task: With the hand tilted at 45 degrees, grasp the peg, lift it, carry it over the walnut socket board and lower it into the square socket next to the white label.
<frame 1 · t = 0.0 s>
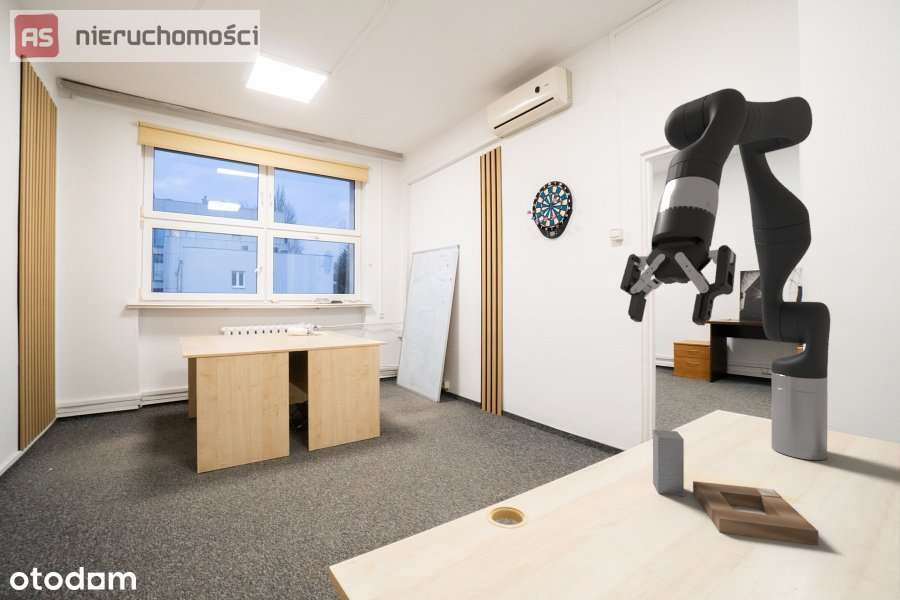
hand: (664, 322, 55), 31 cm above the table, tool tilted 20°, fingers open, 8 cm apart
socket board: (748, 515, 62), on the table
peg: (667, 489, 71), on the table
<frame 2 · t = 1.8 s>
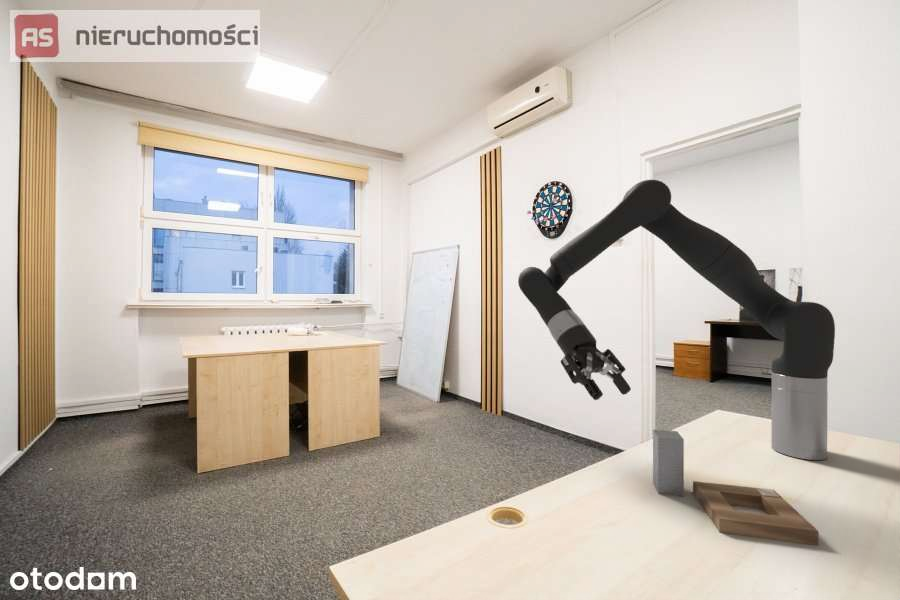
hand: (613, 395, 80), 15 cm above the table, tool tilted 45°, fingers open, 8 cm apart
nothing on the table moved.
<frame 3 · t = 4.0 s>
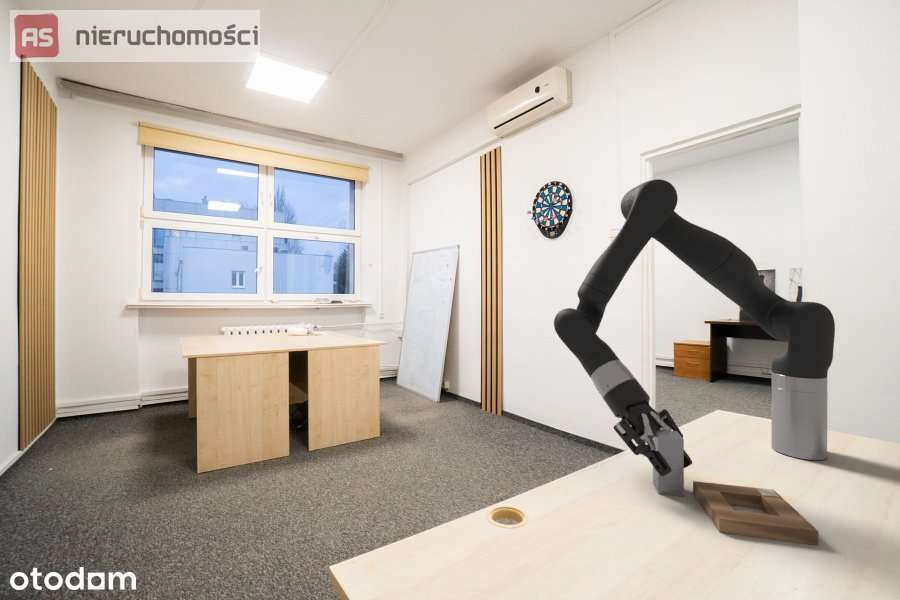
hand: (677, 469, 69), 4 cm above the table, tool tilted 45°, fingers closed on peg, 5 cm apart
peg: (667, 489, 71), on the table, touching gripper
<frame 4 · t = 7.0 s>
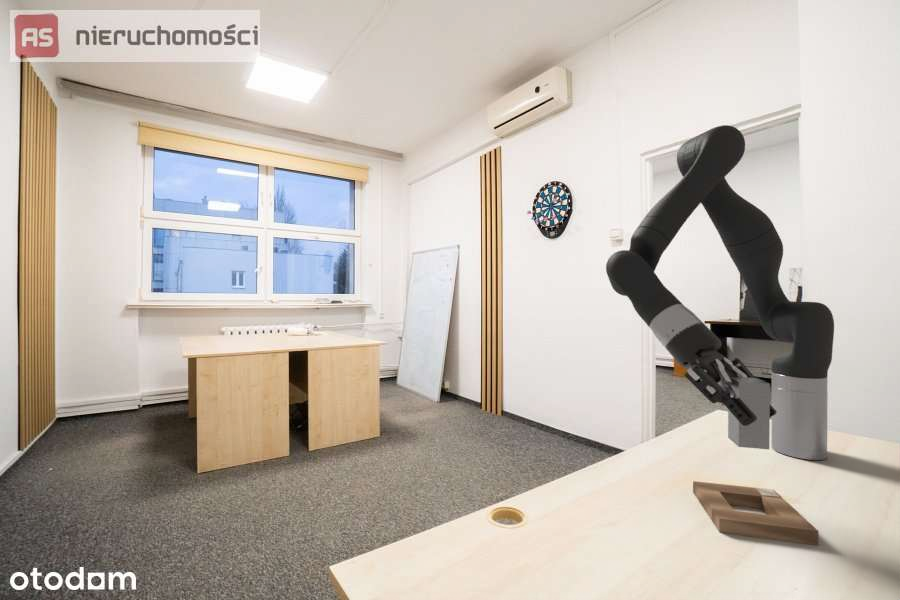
hand: (761, 419, 60), 16 cm above the table, tool tilted 45°, fingers closed on peg, 5 cm apart
peg: (747, 443, 62), point 11 cm above the table, touching gripper
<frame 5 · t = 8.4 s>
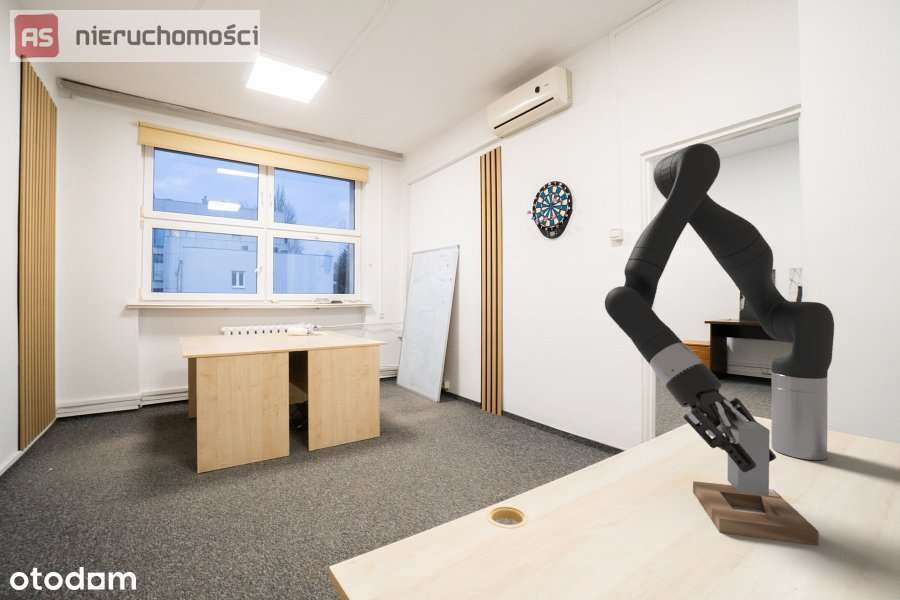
hand: (760, 464, 61), 9 cm above the table, tool tilted 45°, fingers closed on peg, 5 cm apart
peg: (747, 487, 62), point 4 cm above the table, touching gripper
when the fingers open (6 cm above the table, at t = 9.7 s): peg drops 1 cm, resting in socket board.
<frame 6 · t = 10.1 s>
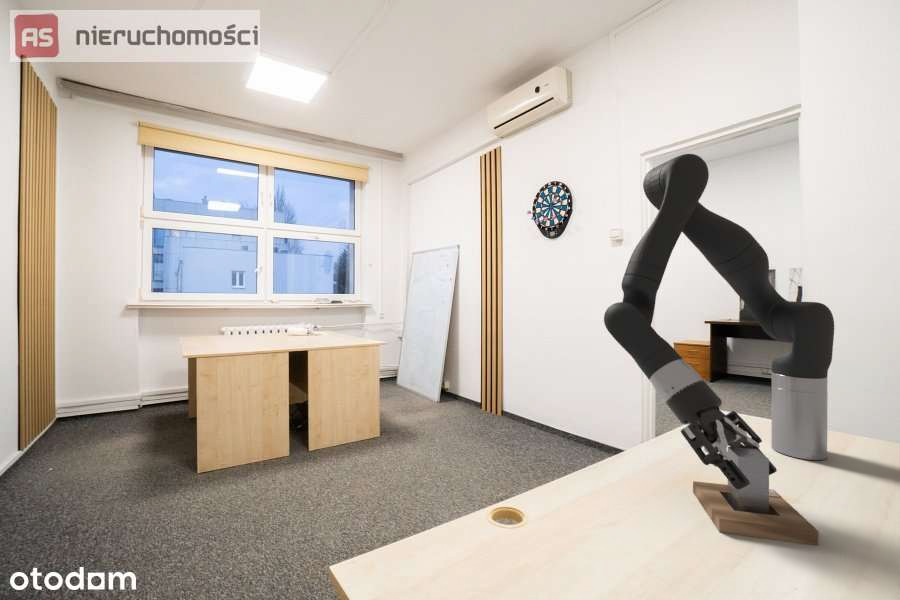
hand: (758, 480, 61), 6 cm above the table, tool tilted 45°, fingers open, 8 cm apart
peg: (747, 515, 62), resting in socket board
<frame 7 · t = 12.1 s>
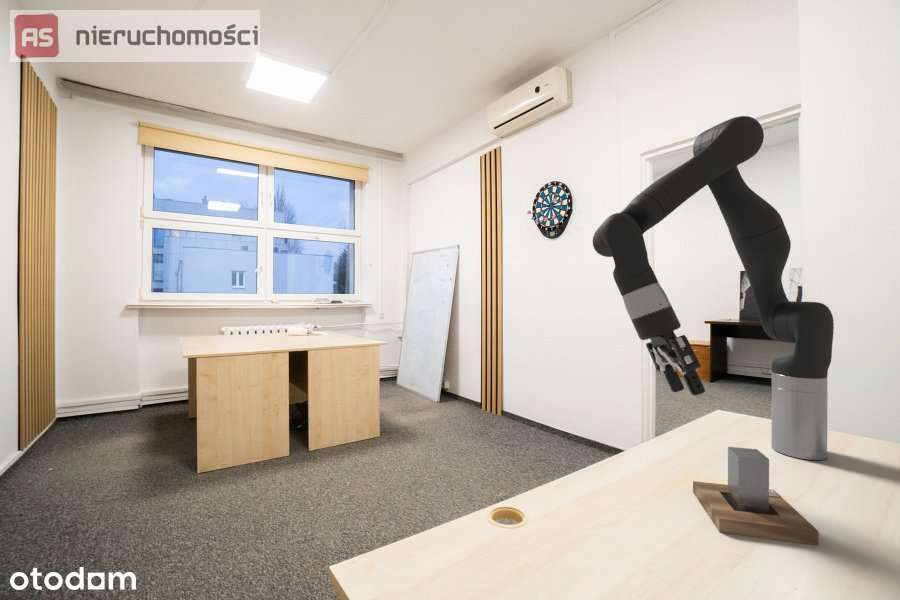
hand: (688, 392, 73), 17 cm above the table, tool tilted 25°, fingers open, 8 cm apart
nothing on the table moved.
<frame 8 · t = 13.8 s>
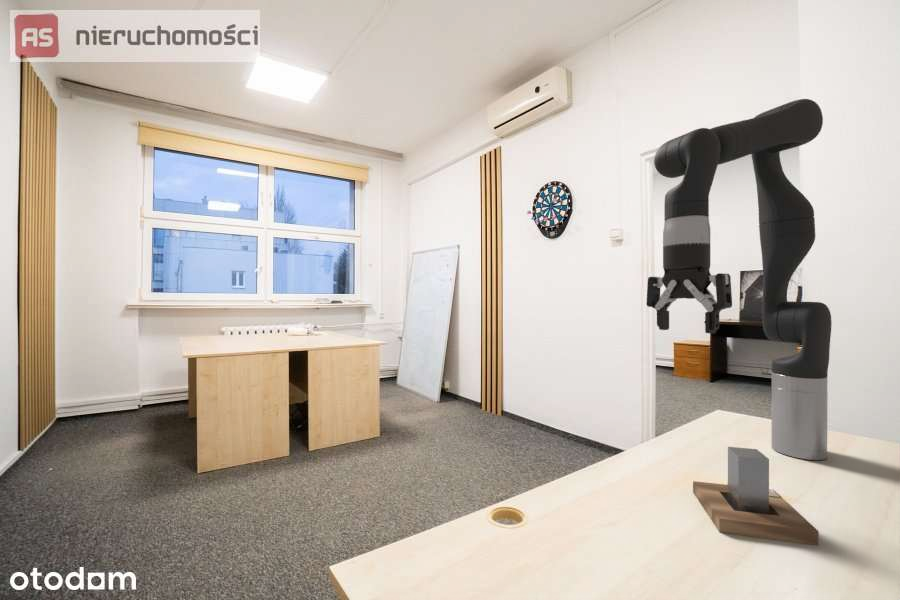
hand: (686, 331, 73), 28 cm above the table, tool pointing down, fingers open, 8 cm apart
nothing on the table moved.
at the end: peg 0.1 cm off-centre on the socket board, point 0.0 cm above the socket board's base; peg tilted 0°; the gripper is holding nothing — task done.
